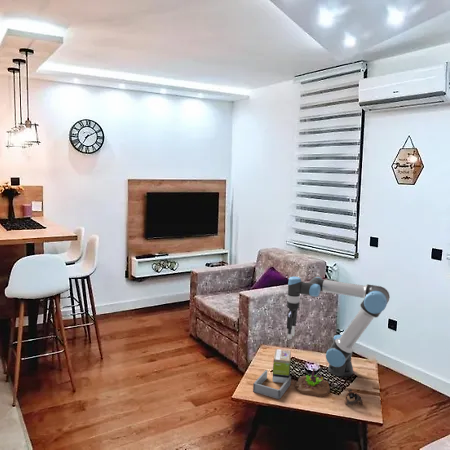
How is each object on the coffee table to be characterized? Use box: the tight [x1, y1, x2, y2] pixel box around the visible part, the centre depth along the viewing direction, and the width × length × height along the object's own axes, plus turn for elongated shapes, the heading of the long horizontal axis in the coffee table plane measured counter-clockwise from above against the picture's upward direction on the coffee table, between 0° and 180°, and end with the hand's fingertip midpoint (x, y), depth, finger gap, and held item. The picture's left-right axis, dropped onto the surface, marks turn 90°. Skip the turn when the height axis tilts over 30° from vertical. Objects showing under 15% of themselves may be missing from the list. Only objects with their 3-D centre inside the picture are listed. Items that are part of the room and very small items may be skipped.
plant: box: [294, 368, 331, 398], centre depth 269 cm, size 20×20×11 cm
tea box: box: [272, 348, 292, 384], centre depth 279 cm, size 15×10×15 cm, turn 170°
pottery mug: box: [344, 388, 364, 407], centre depth 253 cm, size 12×10×8 cm
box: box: [252, 369, 292, 400], centre depth 266 cm, size 16×19×5 cm
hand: (290, 337), depth 289 cm, fingers open, 4 cm apart
